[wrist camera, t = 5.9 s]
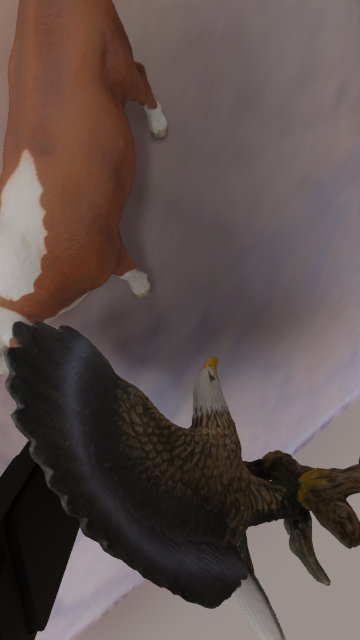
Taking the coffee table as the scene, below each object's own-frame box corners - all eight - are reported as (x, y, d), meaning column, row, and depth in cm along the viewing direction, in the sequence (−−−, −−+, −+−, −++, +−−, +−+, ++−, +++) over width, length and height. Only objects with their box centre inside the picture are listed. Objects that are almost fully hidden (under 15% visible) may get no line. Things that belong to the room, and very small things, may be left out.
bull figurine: (62, 352, 17) (-112, 380, 9) (108, 89, 16) (-38, -124, 8) (140, 371, 16) (18, 422, 8) (191, 91, 15) (114, -150, 7)
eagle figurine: (377, 328, 9) (51, 223, 7) (532, 708, 5) (-209, 750, 3) (242, 420, 15) (38, 378, 13) (259, 636, 11) (-52, 629, 8)
